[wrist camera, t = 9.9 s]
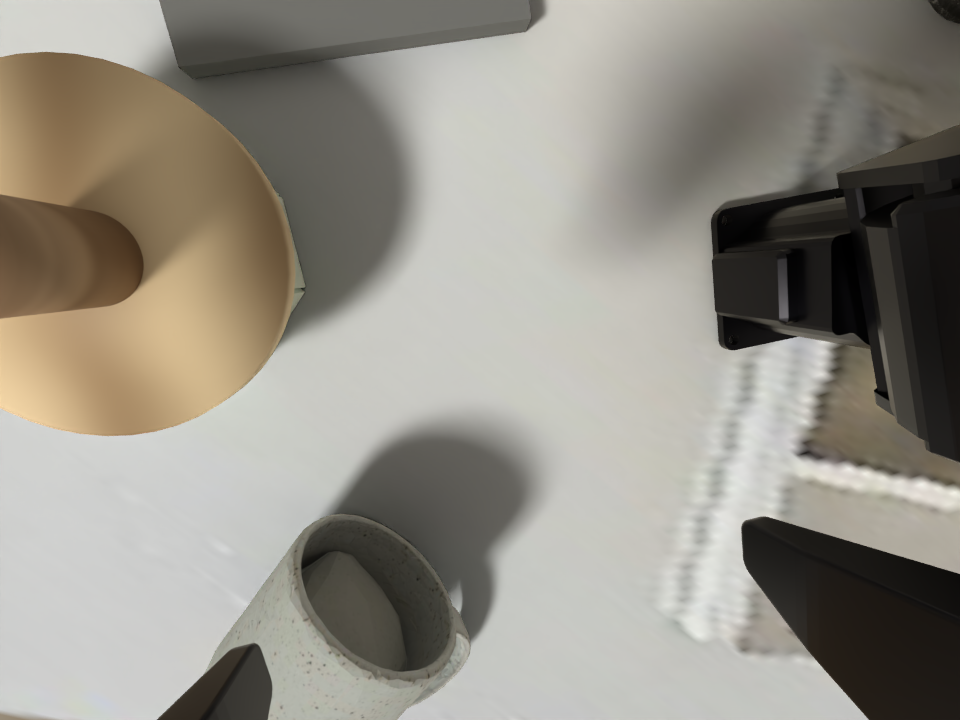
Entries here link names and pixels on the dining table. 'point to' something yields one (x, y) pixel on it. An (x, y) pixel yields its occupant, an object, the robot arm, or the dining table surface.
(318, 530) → the ceramic mug
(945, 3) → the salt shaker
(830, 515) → the dining table surface
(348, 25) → the mat
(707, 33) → the dining table surface
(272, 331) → the lid
